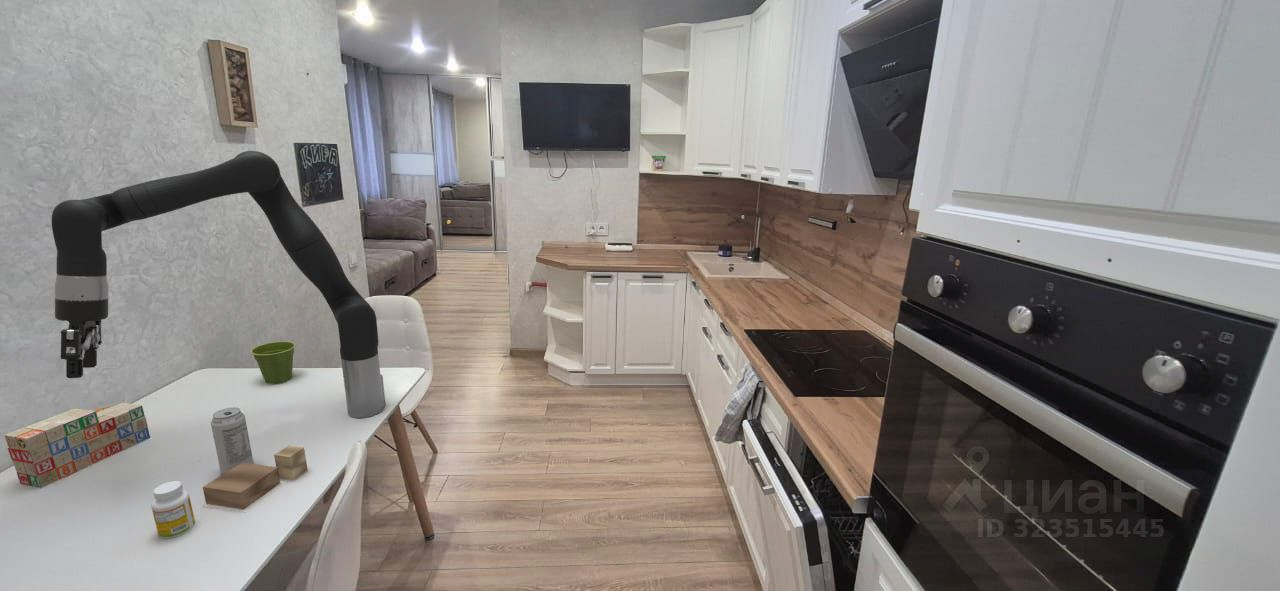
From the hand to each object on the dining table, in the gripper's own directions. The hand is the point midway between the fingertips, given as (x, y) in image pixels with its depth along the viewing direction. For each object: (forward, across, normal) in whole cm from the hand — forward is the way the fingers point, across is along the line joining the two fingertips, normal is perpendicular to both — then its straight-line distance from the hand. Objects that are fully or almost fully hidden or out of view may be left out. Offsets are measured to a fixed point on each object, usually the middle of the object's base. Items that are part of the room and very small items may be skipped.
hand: (82, 372), depth 107 cm
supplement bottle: (+26, -26, -19) cm, 42 cm away
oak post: (+21, -17, -38) cm, 47 cm away
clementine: (+24, +27, +2) cm, 36 cm away
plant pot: (+16, +45, -33) cm, 58 cm away
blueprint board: (+23, -19, -31) cm, 43 cm away
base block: (+23, -20, -29) cm, 42 cm away
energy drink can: (+23, -9, -27) cm, 37 cm away
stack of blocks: (+25, +14, +2) cm, 29 cm away
